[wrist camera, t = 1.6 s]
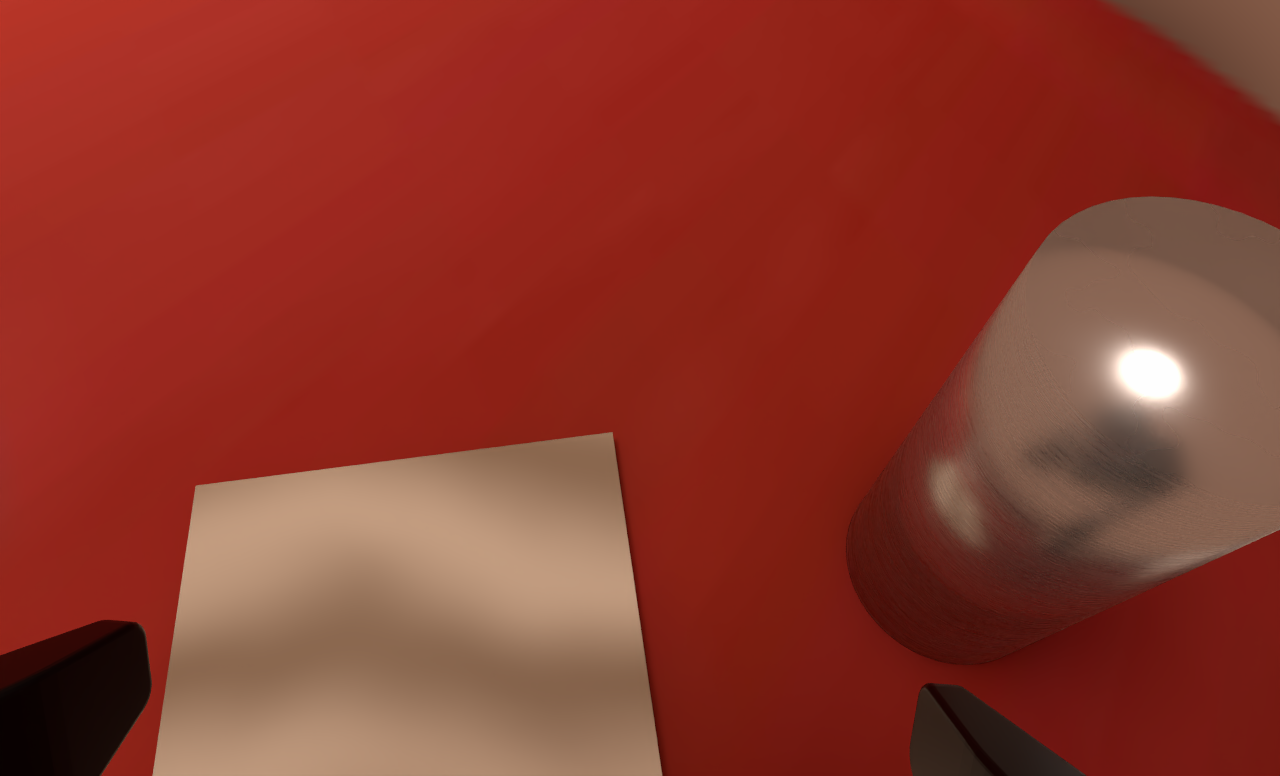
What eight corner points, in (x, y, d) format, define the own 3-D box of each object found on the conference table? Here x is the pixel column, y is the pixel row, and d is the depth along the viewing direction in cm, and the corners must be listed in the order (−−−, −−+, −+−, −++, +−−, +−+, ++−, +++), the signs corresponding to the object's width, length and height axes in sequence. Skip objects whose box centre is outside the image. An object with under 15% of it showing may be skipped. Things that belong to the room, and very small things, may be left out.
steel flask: (1079, 647, 22) (1506, 476, 11) (879, 679, 22) (1125, 531, 11) (1001, 459, 25) (1281, 181, 14) (823, 484, 25) (973, 215, 14)
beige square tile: (680, 910, 19) (682, 912, 18) (132, 1009, 18) (116, 1014, 17) (613, 440, 25) (612, 432, 25) (205, 492, 24) (195, 485, 24)
